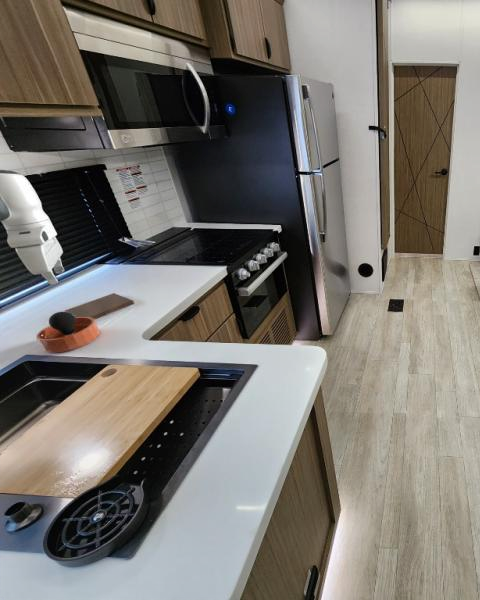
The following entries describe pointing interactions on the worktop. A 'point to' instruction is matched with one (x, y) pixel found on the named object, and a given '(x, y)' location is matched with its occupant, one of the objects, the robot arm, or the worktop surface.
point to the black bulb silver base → (63, 322)
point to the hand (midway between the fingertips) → (57, 277)
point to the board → (100, 306)
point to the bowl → (58, 342)
